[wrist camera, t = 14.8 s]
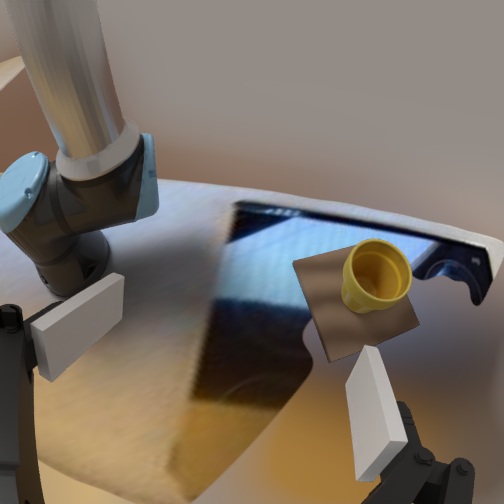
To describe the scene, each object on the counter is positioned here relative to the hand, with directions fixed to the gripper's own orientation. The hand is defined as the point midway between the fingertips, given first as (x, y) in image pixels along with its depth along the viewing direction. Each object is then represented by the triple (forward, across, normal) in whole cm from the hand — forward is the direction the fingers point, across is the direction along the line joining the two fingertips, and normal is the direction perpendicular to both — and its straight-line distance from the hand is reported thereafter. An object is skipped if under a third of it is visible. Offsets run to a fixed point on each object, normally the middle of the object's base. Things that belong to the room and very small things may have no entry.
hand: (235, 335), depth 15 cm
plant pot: (+35, +16, -8) cm, 39 cm away
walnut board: (+36, +16, -9) cm, 40 cm away
